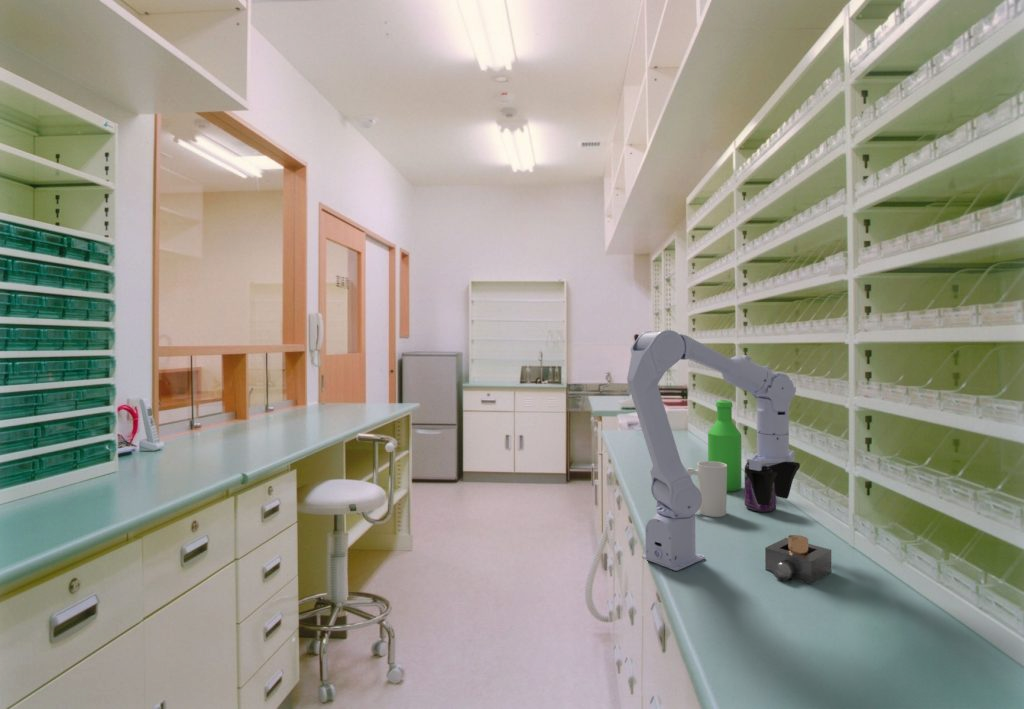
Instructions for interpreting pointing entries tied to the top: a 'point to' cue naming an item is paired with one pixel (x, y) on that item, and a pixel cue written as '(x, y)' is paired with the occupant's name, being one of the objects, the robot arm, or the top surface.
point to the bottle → (726, 444)
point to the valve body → (797, 562)
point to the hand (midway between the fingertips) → (772, 500)
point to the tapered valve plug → (798, 544)
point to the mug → (712, 487)
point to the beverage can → (751, 498)
